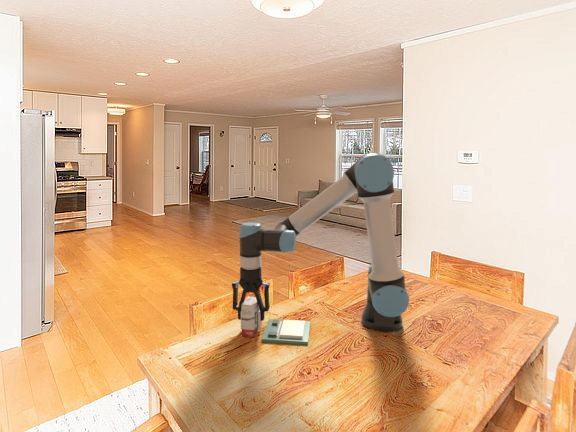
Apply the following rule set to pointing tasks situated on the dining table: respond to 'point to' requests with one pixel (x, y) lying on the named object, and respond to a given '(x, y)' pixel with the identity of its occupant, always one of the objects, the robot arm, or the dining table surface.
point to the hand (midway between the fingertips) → (251, 327)
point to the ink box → (250, 317)
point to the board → (287, 331)
